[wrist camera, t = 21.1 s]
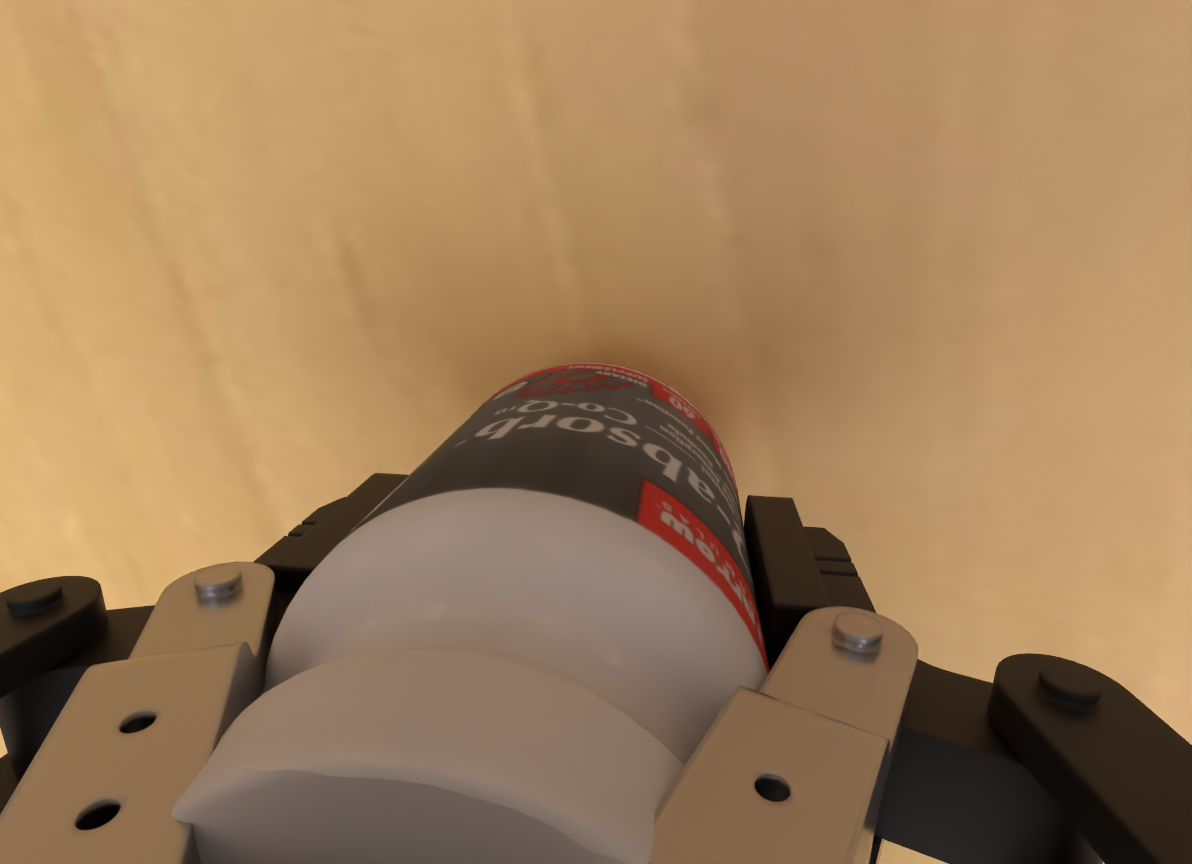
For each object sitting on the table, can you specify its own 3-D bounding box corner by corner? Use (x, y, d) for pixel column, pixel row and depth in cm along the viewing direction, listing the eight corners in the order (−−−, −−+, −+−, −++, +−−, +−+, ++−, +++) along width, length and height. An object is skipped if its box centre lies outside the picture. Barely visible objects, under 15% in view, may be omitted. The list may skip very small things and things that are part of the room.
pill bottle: (785, 425, 13) (1029, 933, 4) (666, 654, 15) (642, 1369, 6) (508, 308, 13) (97, 550, 4) (421, 552, 15) (1, 1112, 6)
